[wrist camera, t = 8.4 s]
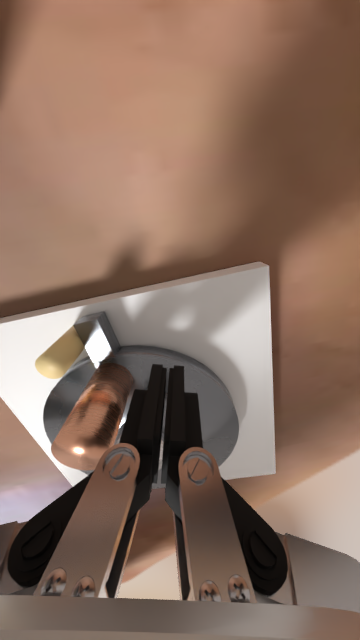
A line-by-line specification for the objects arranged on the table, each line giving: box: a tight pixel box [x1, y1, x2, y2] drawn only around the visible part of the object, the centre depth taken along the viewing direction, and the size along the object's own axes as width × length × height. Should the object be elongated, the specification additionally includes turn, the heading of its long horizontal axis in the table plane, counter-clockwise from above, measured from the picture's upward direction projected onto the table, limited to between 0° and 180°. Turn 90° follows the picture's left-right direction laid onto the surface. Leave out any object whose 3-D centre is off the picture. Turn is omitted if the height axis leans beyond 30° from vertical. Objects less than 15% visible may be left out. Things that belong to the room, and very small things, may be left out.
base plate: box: [0, 261, 276, 489], centre depth 15 cm, size 20×20×5 cm
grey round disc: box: [43, 311, 239, 488], centre depth 13 cm, size 16×14×6 cm
